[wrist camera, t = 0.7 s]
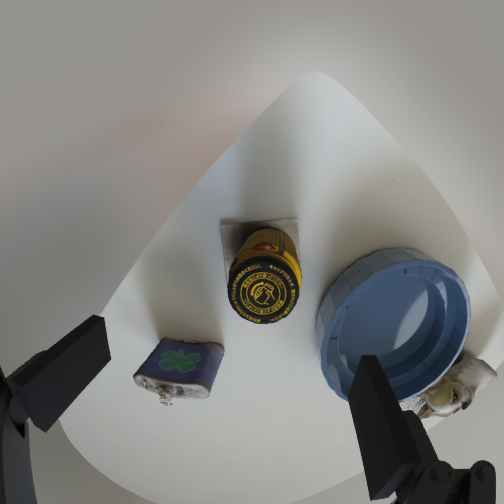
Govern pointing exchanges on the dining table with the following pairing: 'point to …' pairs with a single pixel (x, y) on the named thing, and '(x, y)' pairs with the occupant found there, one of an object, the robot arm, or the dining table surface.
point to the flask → (180, 369)
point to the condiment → (262, 268)
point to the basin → (393, 321)
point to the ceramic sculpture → (456, 387)
